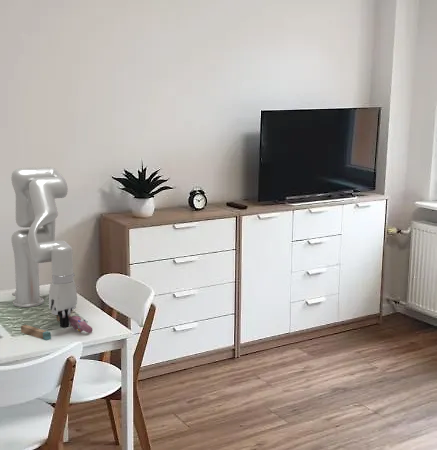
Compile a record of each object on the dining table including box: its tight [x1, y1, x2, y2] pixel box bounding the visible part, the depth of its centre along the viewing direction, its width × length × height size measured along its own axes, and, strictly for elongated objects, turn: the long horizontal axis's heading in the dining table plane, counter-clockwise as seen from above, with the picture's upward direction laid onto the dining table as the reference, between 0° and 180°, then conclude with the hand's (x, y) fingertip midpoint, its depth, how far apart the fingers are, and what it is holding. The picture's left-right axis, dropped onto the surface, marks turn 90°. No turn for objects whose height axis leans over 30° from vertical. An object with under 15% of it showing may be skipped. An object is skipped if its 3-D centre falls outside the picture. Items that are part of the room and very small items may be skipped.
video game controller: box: [69, 315, 93, 334], centre depth 254 cm, size 10×5×7 cm, turn 45°
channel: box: [20, 315, 87, 341], centre depth 257 cm, size 14×19×2 cm
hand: (64, 326), depth 253 cm, fingers closed
